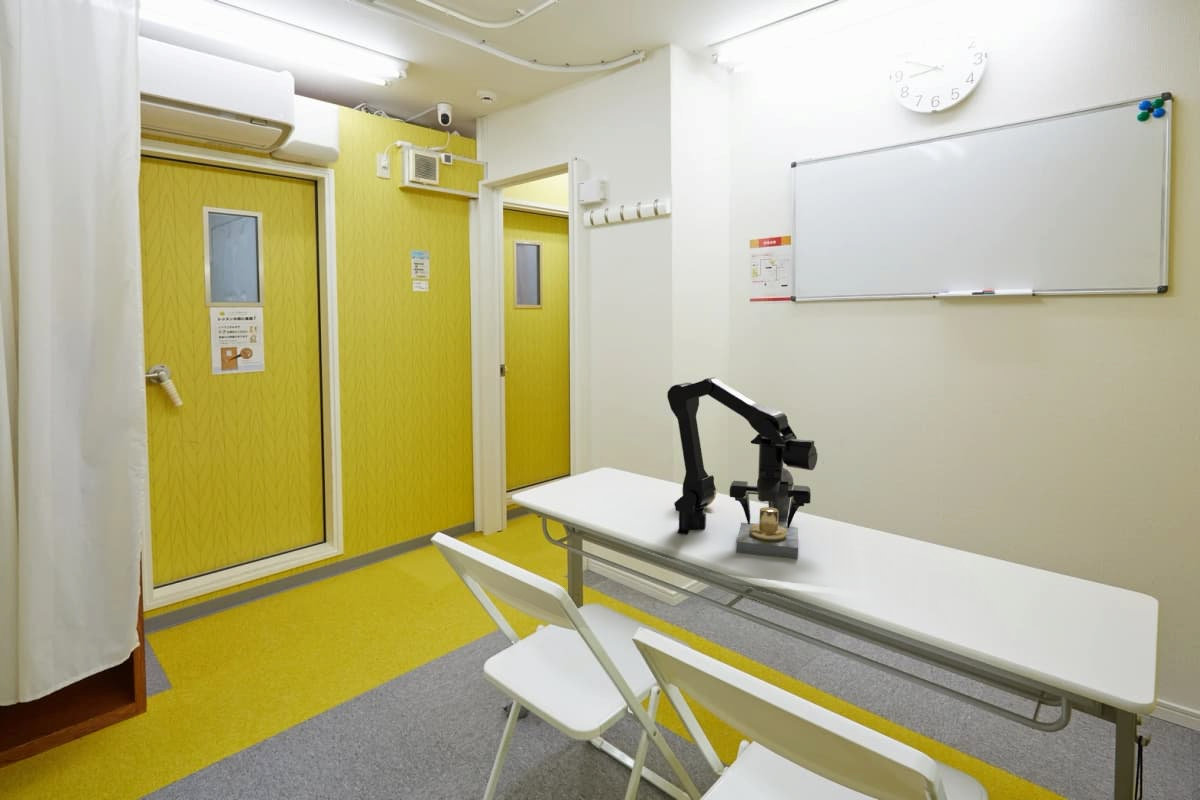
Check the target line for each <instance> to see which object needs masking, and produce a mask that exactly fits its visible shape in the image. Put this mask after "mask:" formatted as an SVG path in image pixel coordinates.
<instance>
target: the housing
mask: <svg viewBox="0 0 1200 800" xmlns="http://www.w3.org/2000/svg"><path fill="white" fill-rule="evenodd" d="M755 524H756V523H752V522H750V524H748V522H741V523H740V526H739V530H738V534H737V537H736V538H737V539H736V543H735V545H736V546H735V548H736V549H735V551H736V552H735V553H737V554H746V555H755V556H763V557H773V558H784V559H792V560H798V558H799V557H798V556H799V527H792V526H790V527H789V528H787V526H785V525H784V526H782V525H781V526H782V527H784V528H785V529H787V538H786V539H784V540H781V541H764V540H759V539H756V538H754V537H752V536H751V535H750V534H749V528H750V526H752V525H755Z"/></svg>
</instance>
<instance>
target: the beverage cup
mask: <svg viewBox="0 0 1200 800" xmlns="http://www.w3.org/2000/svg"><path fill="white" fill-rule="evenodd" d="M782 481H787V482H789V484H788V489H793V486H794V485H795V484H794V478H793V475H792V473H791V472H790V471H789V470H788V469H786V468H785V467H783V480H782ZM767 502H768V507H771V508H775V509H777V510H778V522H786V521H788V515H789V509H790V503H791V497H780V499H779V502H777V503H773V502H770V501H767Z"/></svg>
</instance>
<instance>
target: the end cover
mask: <svg viewBox="0 0 1200 800" xmlns="http://www.w3.org/2000/svg"><path fill="white" fill-rule="evenodd" d="M758 518H759V520H758V523H754V524H755V525H752V526H750V528H749V534H750V535H751V536H752V537H754V538H756V539H759V540H764V541H781V540H784V539H786V538H787V529H785V528H784V527H782V525H779V521H778V510H777V509H775V508H771V507H769V506H767V507H761V508H759V517H758Z"/></svg>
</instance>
